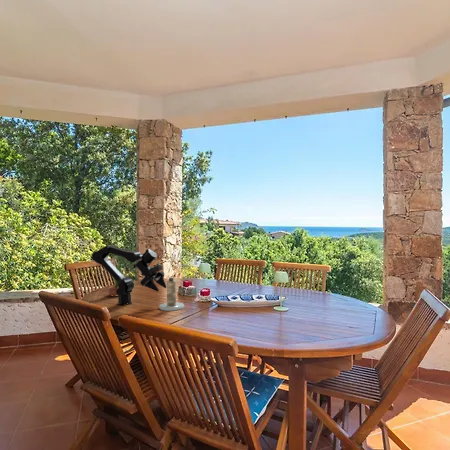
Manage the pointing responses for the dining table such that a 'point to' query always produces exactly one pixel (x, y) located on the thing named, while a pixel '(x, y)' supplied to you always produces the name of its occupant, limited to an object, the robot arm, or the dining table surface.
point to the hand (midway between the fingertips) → (162, 289)
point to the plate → (171, 307)
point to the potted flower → (113, 288)
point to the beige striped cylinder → (171, 292)
